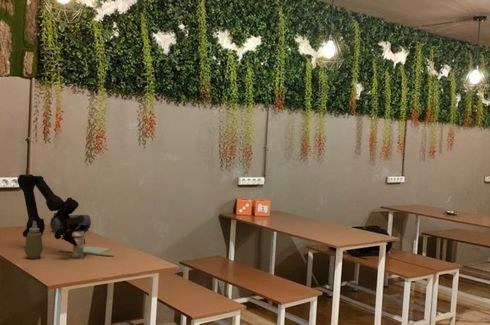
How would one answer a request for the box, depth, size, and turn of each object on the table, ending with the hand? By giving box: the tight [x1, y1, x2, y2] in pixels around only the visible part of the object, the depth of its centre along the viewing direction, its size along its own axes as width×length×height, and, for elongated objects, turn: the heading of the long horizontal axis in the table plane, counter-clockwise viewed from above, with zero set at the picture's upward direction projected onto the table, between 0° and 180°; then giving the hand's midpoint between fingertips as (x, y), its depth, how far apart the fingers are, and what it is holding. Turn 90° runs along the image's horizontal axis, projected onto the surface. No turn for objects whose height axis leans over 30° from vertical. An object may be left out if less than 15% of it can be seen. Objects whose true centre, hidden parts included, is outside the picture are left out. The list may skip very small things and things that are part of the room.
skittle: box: [72, 231, 85, 260], centre depth 260 cm, size 5×5×13 cm
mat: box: [83, 245, 111, 254], centre depth 277 cm, size 13×13×1 cm
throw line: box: [58, 250, 115, 258], centre depth 268 cm, size 30×2×1 cm, turn 80°
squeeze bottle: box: [24, 221, 44, 260], centre depth 255 cm, size 8×8×18 cm
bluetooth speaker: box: [49, 214, 92, 232], centre depth 325 cm, size 23×9×10 cm, turn 133°
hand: (80, 244), depth 259 cm, fingers closed on skittle, 5 cm apart
